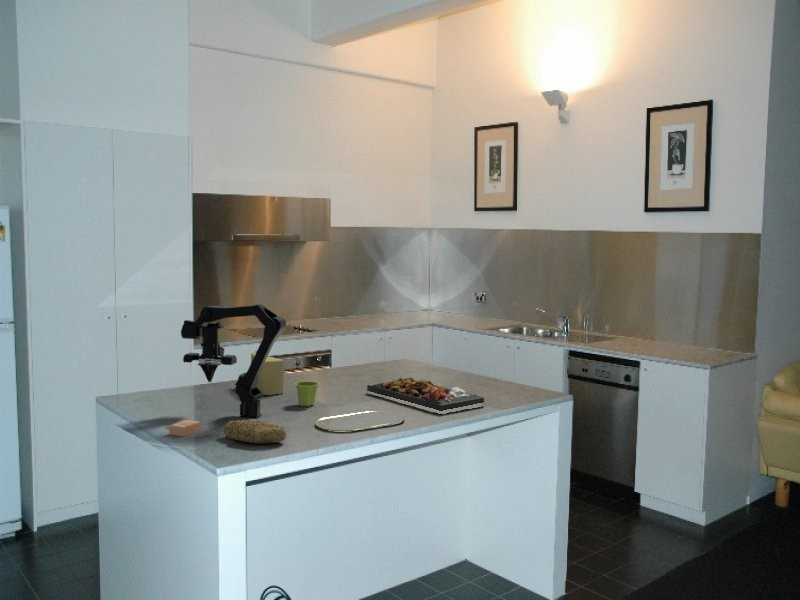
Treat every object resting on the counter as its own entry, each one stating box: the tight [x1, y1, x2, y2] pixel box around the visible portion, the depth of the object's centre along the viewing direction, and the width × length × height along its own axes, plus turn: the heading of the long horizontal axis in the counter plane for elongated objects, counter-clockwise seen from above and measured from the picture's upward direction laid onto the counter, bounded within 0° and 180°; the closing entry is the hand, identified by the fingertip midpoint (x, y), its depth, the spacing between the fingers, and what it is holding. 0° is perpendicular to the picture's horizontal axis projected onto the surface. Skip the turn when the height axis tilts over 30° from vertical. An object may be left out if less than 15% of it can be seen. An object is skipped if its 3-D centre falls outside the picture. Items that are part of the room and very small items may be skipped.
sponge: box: [222, 419, 288, 445], centre depth 240 cm, size 13×8×20 cm
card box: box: [168, 419, 202, 438], centre depth 246 cm, size 3×6×9 cm
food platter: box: [366, 376, 485, 411], centre depth 308 cm, size 45×25×10 cm, turn 41°
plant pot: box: [294, 380, 320, 407], centre depth 293 cm, size 9×9×9 cm
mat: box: [165, 424, 220, 440], centre depth 249 cm, size 16×12×1 cm
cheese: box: [250, 352, 285, 396], centre depth 317 cm, size 22×10×15 cm, turn 35°
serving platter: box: [315, 410, 388, 431], centre depth 268 cm, size 19×35×2 cm, turn 126°
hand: (209, 381), depth 273 cm, fingers closed
